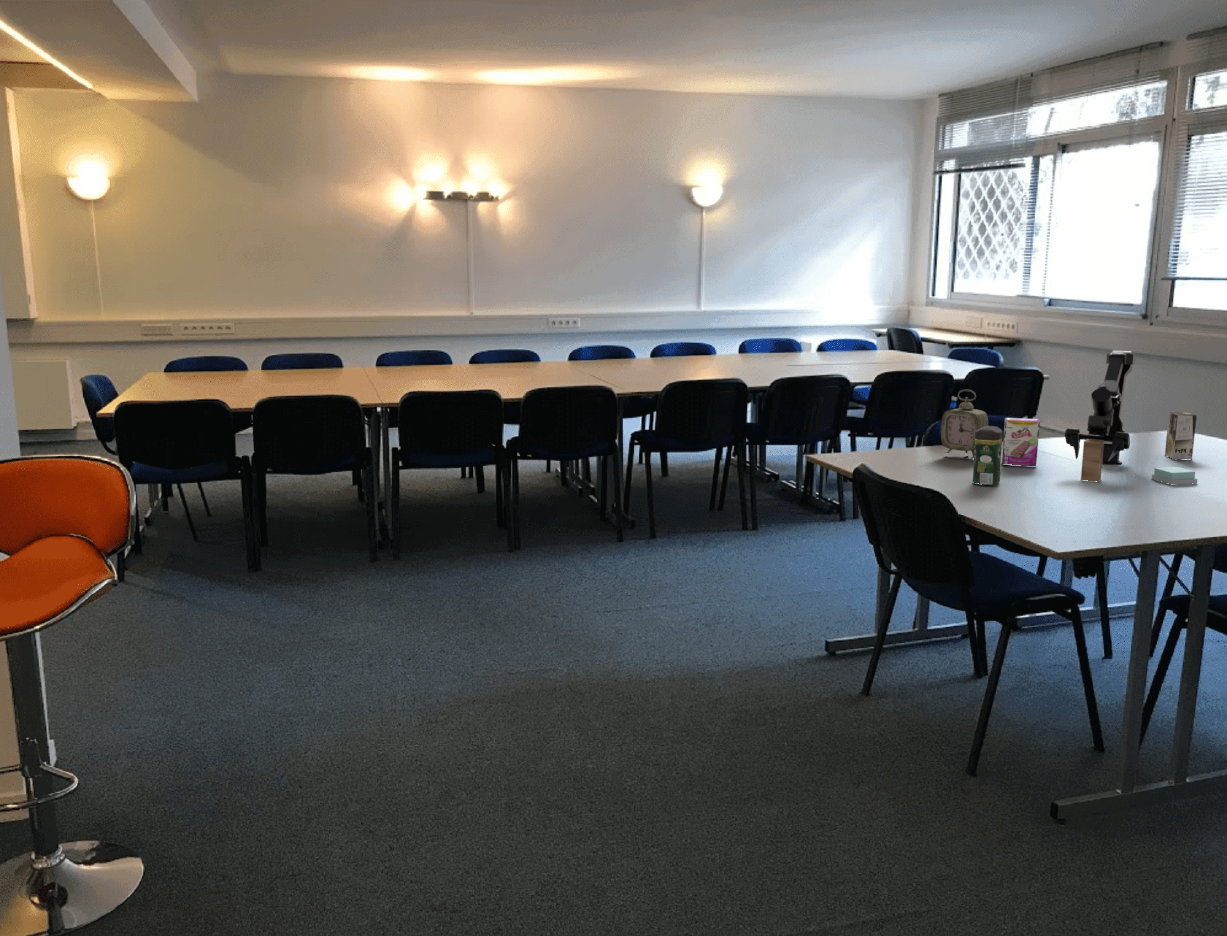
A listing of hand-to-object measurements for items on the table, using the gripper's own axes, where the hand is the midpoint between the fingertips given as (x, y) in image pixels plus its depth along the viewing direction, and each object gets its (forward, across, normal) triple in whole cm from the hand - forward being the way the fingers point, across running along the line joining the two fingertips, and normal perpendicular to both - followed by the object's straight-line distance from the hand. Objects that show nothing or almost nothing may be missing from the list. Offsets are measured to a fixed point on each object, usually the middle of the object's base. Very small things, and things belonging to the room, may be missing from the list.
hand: (1091, 459), depth 313 cm
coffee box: (-34, +18, +44) cm, 59 cm away
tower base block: (-4, +22, +14) cm, 27 cm away
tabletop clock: (-7, -45, +17) cm, 49 cm away
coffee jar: (+20, -27, -10) cm, 35 cm away
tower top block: (-5, +22, +12) cm, 26 cm away
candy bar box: (-4, -25, +14) cm, 29 cm away
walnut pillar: (+4, 0, +6) cm, 7 cm away
